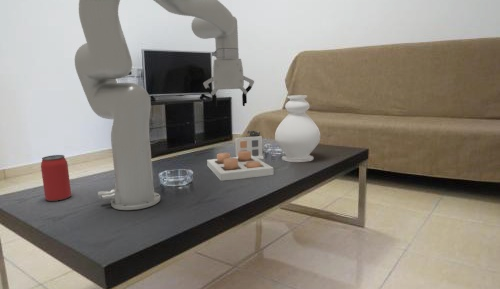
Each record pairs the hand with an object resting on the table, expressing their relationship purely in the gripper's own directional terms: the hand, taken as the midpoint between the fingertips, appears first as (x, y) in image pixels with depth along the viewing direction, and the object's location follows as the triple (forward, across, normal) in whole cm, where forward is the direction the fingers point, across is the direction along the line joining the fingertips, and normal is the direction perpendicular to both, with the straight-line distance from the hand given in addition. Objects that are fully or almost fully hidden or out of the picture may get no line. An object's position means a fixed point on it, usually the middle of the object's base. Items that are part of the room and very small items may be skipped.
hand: (229, 106), depth 122 cm
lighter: (+23, +10, +29) cm, 39 cm away
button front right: (+22, +7, -4) cm, 24 cm away
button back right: (+21, +5, +6) cm, 22 cm away
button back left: (+21, -3, +4) cm, 21 cm away
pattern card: (+23, +7, +17) cm, 29 cm away
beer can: (+22, -50, -24) cm, 59 cm away
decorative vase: (+23, +26, +15) cm, 38 cm away
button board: (+23, +2, 0) cm, 23 cm away
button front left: (+20, 0, -6) cm, 21 cm away
